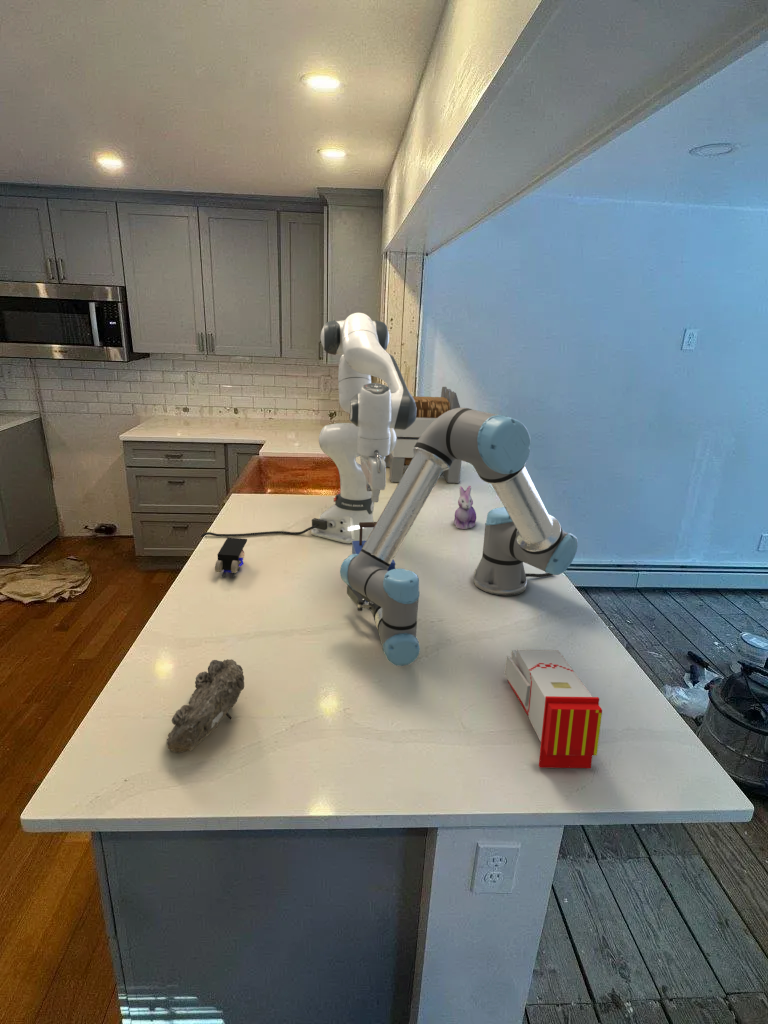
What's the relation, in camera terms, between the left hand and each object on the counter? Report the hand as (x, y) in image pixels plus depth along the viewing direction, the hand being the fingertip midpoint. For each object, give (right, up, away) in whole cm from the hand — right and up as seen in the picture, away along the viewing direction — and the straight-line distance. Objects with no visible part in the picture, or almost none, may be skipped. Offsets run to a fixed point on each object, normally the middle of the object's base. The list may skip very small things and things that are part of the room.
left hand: (372, 496), depth 155 cm
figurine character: (-42, -21, +12) cm, 48 cm away
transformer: (+21, +14, +119) cm, 122 cm away
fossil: (-29, -44, -47) cm, 71 cm away
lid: (0, -16, +1) cm, 16 cm away
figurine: (+33, -9, +55) cm, 65 cm away
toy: (+35, -45, -43) cm, 71 cm away
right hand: (+1, -21, -2) cm, 21 cm away
